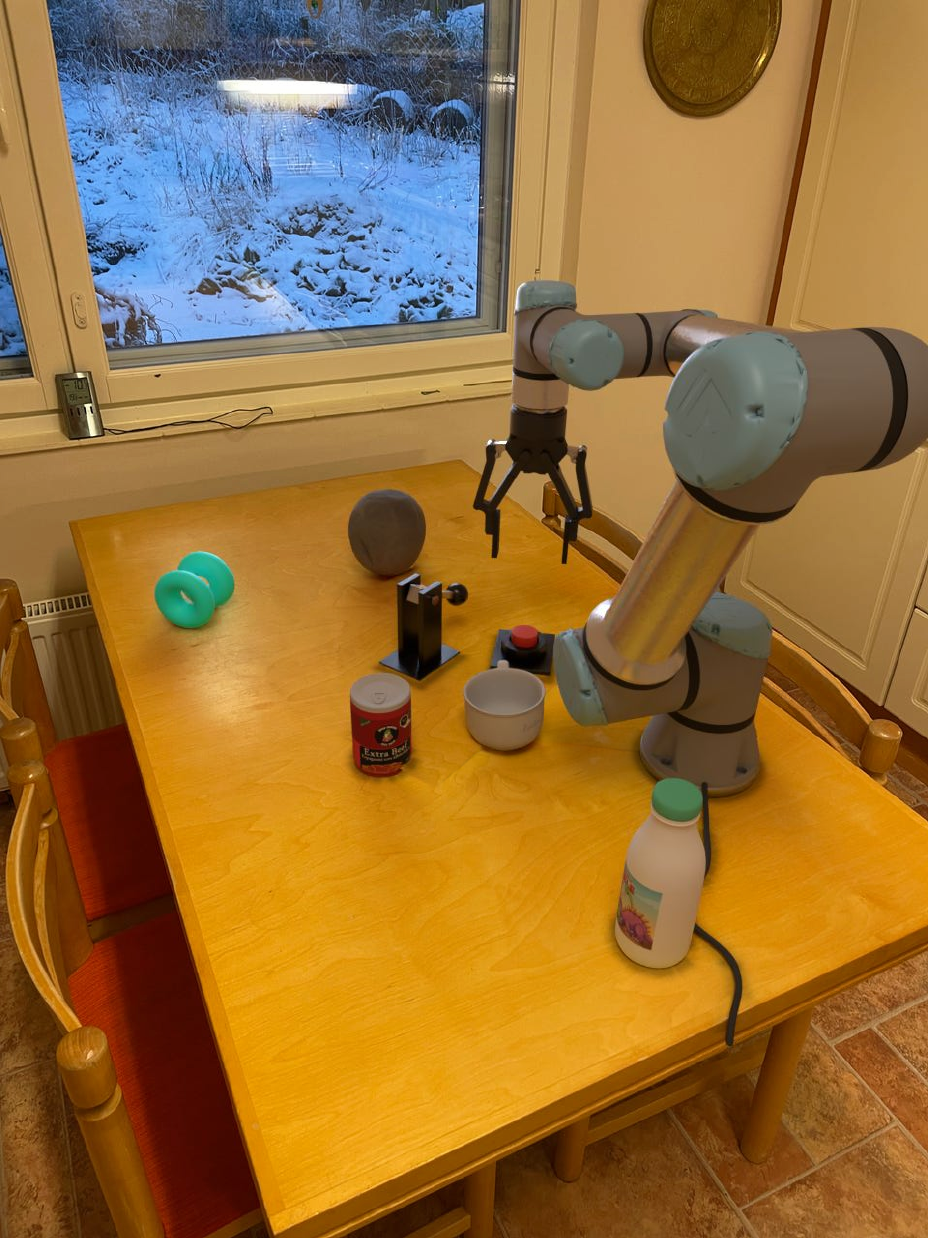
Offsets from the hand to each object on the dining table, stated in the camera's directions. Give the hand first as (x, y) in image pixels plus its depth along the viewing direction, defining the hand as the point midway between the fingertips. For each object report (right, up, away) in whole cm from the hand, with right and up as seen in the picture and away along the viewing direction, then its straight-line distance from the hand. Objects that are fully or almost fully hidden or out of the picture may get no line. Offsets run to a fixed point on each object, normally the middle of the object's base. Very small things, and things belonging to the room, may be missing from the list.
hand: (529, 556), depth 131 cm
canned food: (-20, -27, -13) cm, 36 cm away
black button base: (0, -15, +9) cm, 18 cm away
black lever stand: (-16, -16, +7) cm, 24 cm away
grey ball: (-23, 0, +34) cm, 41 cm away
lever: (-14, -7, +6) cm, 16 cm away
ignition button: (0, -12, +7) cm, 14 cm away
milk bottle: (+10, -42, -37) cm, 57 cm away
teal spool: (-53, -9, +18) cm, 57 cm away
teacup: (-4, -24, -7) cm, 26 cm away
